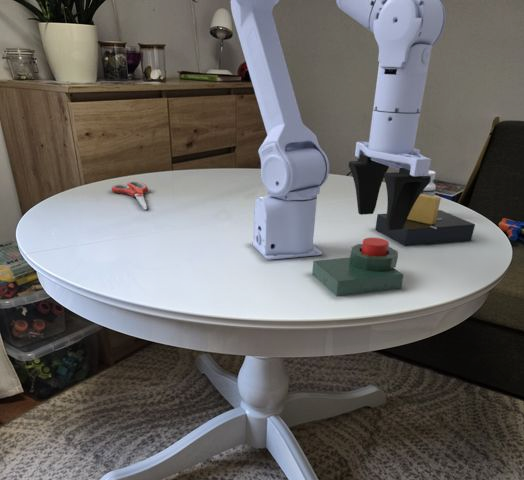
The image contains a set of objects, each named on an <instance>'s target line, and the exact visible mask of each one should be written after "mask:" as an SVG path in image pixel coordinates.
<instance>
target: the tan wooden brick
mask: <svg viewBox="0 0 524 480" xmlns="http://www.w3.org/2000/svg"><path fill="white" fill-rule="evenodd" d="M441 200H442V197H441V196H435V195H434V196H431V195H425V194H420V195H419V197H418V198H417V200H416V202H415V203H414V205H413V207H412V209H411V211H410V213H409V216H408V218H407V219H408V220H412V221H417V222H421V223H426V224H430V225H432V224H435V223H436V219H437V214H438V210H440V205H441Z"/></svg>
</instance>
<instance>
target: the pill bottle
mask: <svg viewBox="0 0 524 480" xmlns="http://www.w3.org/2000/svg"><path fill="white" fill-rule="evenodd" d="M436 173H437V172H436V171H435V170H430V169H429V173H428V175H429V176H431V180H430V183H429V184H428V185H427V186H426V187H425V189H424V190H423V191H422V193H421V194H425V195H431V196H435V195H436V190H437V189H436V188H437V186H436V184H435V183H434V182H433V181H434V180H435V179H436Z"/></svg>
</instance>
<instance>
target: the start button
mask: <svg viewBox="0 0 524 480" xmlns="http://www.w3.org/2000/svg"><path fill="white" fill-rule="evenodd" d="M361 244H362V250H361V252H362V253H363V254H367V255H371V256H386V255H387V251H388V247H389V244H390V242H389V241H388V240H387V239H384V238H379V237H366V238H364V239H363V240H362V243H361Z"/></svg>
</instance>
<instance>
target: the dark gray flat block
mask: <svg viewBox="0 0 524 480" xmlns="http://www.w3.org/2000/svg"><path fill="white" fill-rule="evenodd" d="M386 218H387V213H377V216H376V221H375V227H374V230H375V231H376V232H378V233H380V234H382V235H384V236H385V237H387V238H389V239H391V240H393V241H394V242H396V243H397V244H399V245H402V246H403V247H412V246H413V247H414V246H425V245H426V246H427V245H438V244H448V243H449V244H450V243H459V242H469V241H470V242H471V241H472V238H473V234H474V231H475V228H476V224H475V223H473V222H471V221H468V220H465V219H463V218H461V217H458V216H456V215H453V214H452V213H449V212H446V211H444V210H442V209H438V214H437V219H436V223H435V224H432V225H430V224H426V223H421V222H417V221H412V220H408V219H407V220H406V222H405V225H404V227H403V229H399V230H388V229H387V225H386Z"/></svg>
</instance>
